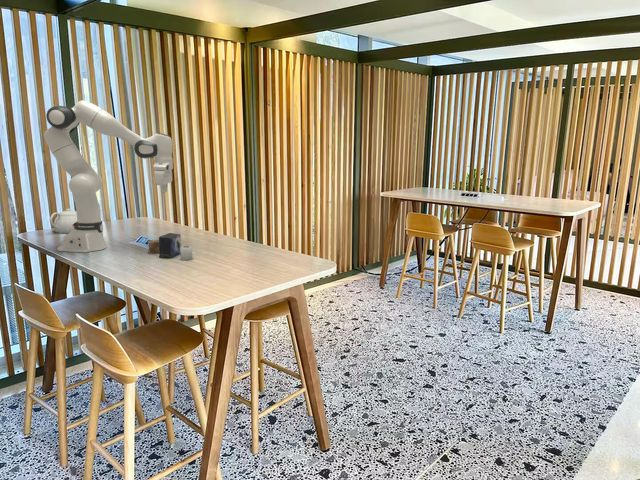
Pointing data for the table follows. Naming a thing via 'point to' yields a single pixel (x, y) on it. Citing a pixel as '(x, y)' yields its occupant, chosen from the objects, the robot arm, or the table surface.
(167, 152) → the robot arm
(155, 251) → the walnut cube
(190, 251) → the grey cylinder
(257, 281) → the table surface
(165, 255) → the small box
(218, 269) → the table surface
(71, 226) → the teapot
